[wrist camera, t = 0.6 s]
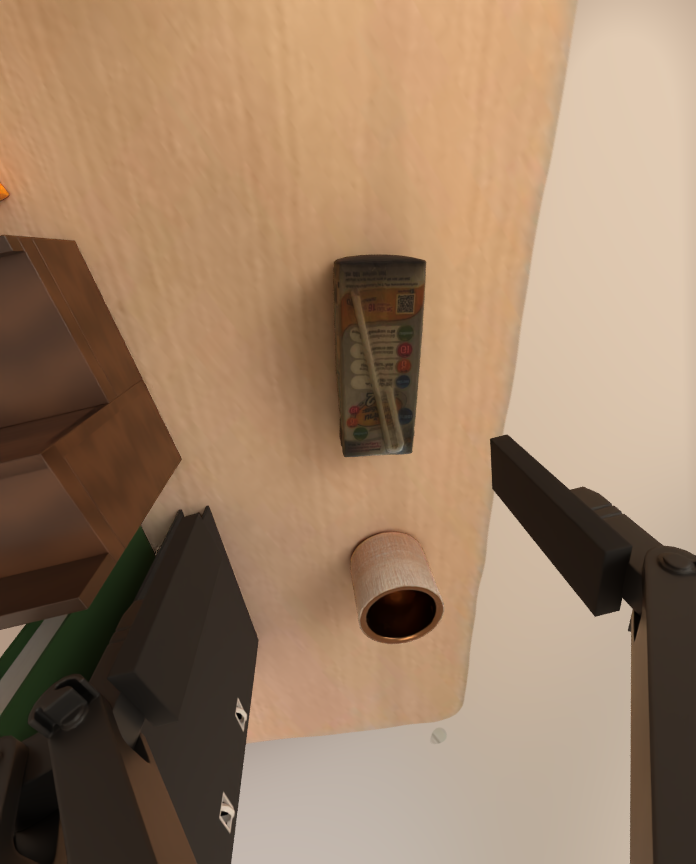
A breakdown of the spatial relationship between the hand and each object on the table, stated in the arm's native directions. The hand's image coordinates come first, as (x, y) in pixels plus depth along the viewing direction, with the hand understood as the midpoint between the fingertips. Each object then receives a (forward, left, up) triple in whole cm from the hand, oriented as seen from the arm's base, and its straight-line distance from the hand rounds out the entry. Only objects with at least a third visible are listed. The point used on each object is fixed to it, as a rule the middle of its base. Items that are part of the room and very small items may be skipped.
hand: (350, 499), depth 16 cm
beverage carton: (+1, +5, -25) cm, 26 cm away
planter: (+31, +2, -25) cm, 40 cm away
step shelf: (-4, -27, -25) cm, 37 cm away
